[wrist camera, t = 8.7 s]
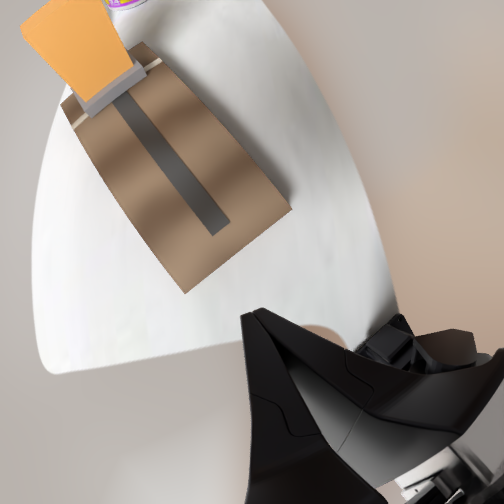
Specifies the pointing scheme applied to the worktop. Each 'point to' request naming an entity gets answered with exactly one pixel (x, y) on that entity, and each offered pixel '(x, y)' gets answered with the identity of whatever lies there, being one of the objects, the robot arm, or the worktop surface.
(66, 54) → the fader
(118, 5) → the supplement bottle
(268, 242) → the worktop surface
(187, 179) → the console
